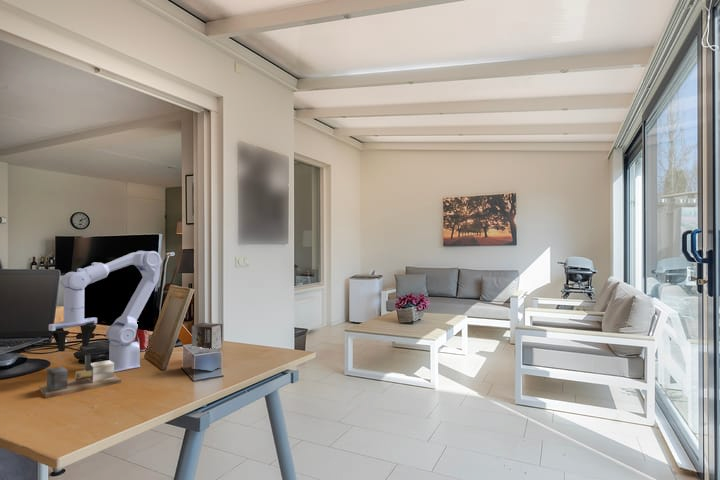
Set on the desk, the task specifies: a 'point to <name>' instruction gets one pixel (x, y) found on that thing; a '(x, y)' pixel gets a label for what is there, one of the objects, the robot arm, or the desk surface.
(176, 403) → the desk surface
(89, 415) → the desk surface
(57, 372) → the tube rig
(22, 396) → the desk surface
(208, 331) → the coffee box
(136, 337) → the soda can
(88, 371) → the slip tube
